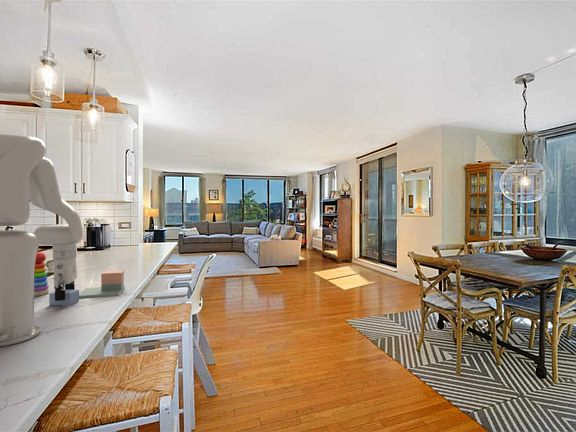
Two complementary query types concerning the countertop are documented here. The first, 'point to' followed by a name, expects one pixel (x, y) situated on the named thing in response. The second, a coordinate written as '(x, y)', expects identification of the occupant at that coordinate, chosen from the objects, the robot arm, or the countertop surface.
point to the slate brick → (70, 298)
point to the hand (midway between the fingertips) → (65, 296)
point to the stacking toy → (40, 275)
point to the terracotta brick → (112, 277)
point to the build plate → (103, 291)
